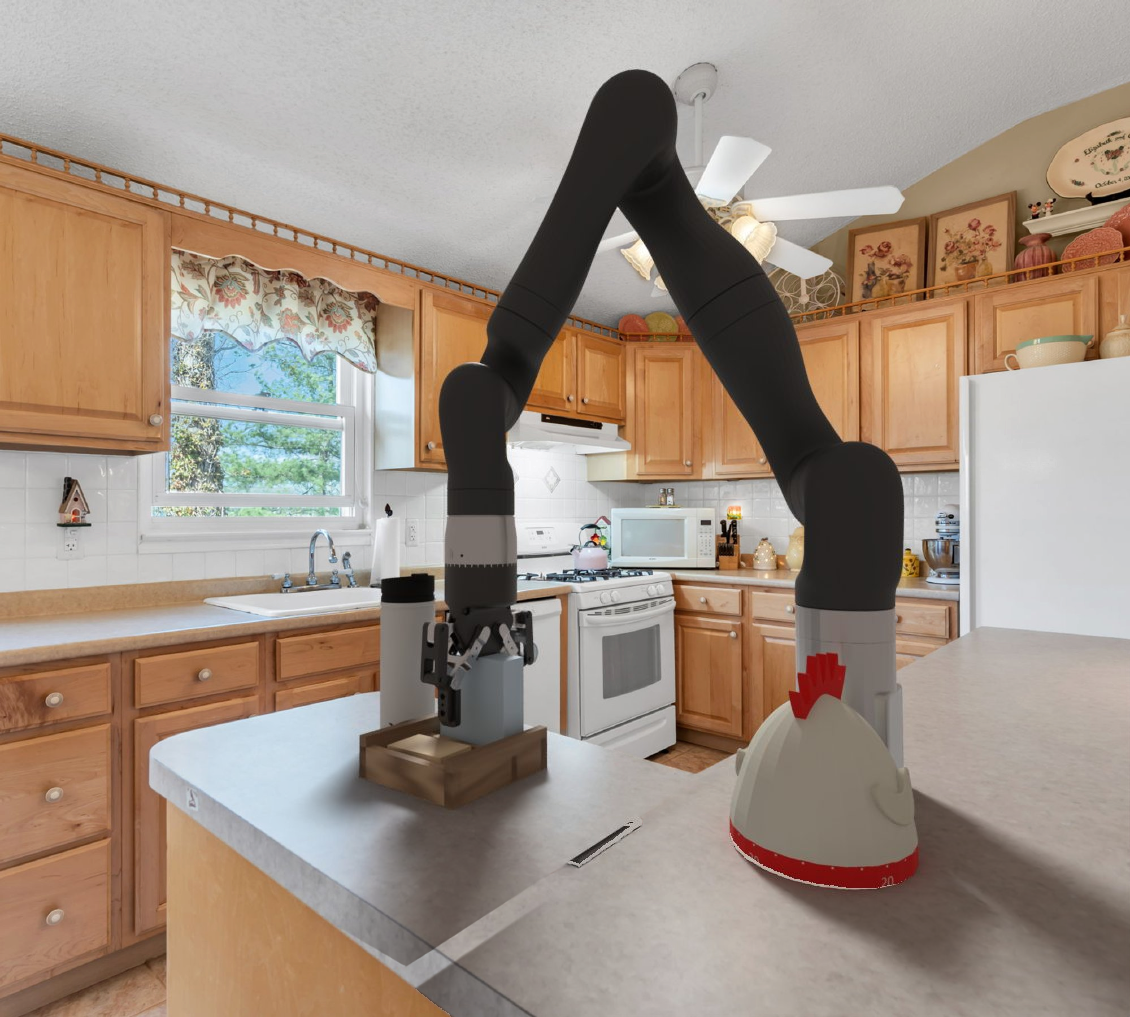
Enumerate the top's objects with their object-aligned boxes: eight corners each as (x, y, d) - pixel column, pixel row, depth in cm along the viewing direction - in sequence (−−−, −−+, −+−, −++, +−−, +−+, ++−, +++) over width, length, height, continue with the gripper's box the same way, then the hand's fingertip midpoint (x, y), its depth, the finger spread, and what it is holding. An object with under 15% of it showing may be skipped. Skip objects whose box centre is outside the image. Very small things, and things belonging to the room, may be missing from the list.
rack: (547, 776, 69) (547, 726, 69) (452, 820, 59) (452, 762, 59) (456, 751, 77) (456, 707, 77) (359, 786, 67) (359, 734, 67)
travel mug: (396, 757, 75) (396, 574, 76) (370, 743, 80) (371, 572, 81) (446, 745, 79) (446, 572, 80) (419, 732, 84) (419, 569, 85)
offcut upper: (471, 762, 66) (471, 745, 66) (440, 775, 62) (440, 758, 62) (418, 749, 70) (418, 734, 70) (387, 761, 66) (387, 745, 66)
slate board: (523, 766, 69) (523, 657, 70) (503, 774, 67) (503, 661, 67) (461, 749, 75) (461, 647, 75) (440, 756, 73) (440, 651, 73)
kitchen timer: (944, 845, 54) (941, 654, 55) (874, 914, 45) (871, 682, 45) (782, 796, 64) (780, 635, 65) (696, 844, 55) (694, 654, 55)
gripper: (456, 563, 64) (456, 740, 63) (551, 558, 75) (552, 707, 75) (403, 561, 68) (402, 726, 68) (500, 556, 80) (501, 697, 79)
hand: (481, 716), depth 71 cm, fingers open, 8 cm apart
